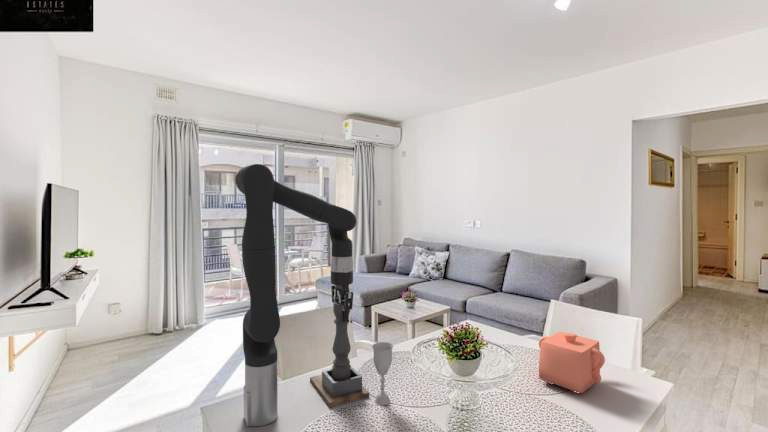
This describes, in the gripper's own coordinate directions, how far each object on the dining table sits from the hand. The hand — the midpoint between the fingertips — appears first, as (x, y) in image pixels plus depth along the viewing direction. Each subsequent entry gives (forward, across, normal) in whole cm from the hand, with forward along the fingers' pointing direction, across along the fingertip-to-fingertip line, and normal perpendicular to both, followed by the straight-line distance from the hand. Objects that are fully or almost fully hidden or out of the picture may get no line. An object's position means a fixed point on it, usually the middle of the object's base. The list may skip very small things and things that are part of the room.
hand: (341, 318), depth 128 cm
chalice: (+26, +11, +10) cm, 30 cm away
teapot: (+26, +31, +79) cm, 89 cm away
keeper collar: (+24, 0, 0) cm, 24 cm away
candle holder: (+20, 0, 0) cm, 20 cm away
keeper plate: (+25, -3, 0) cm, 25 cm away
